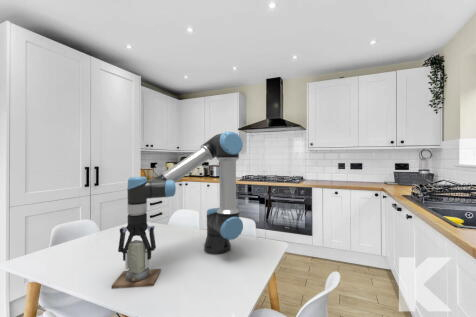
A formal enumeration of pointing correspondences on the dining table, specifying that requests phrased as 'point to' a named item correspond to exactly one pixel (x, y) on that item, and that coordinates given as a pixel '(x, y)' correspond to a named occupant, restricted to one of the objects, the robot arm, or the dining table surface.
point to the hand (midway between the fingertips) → (137, 267)
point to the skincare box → (136, 257)
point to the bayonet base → (141, 284)
